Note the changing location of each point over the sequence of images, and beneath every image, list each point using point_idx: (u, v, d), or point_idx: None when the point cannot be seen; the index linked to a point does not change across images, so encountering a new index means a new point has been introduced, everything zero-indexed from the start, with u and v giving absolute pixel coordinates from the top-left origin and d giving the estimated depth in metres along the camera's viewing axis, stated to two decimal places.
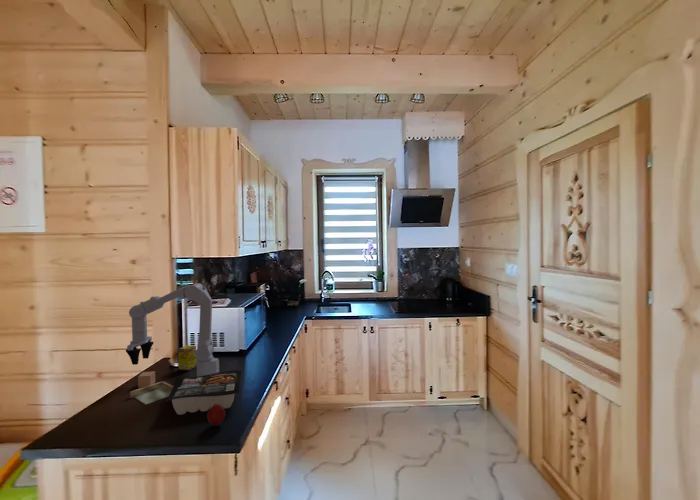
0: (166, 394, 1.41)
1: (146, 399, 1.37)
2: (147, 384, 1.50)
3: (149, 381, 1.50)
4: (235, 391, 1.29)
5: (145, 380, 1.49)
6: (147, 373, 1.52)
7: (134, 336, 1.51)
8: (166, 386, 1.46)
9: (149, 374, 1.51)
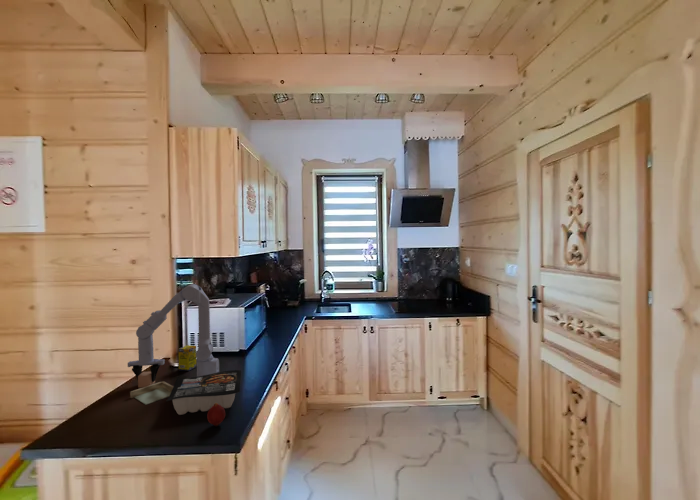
0: (166, 394, 1.41)
1: (146, 399, 1.37)
2: (147, 384, 1.50)
3: (149, 381, 1.50)
4: (236, 391, 1.29)
5: (145, 380, 1.49)
6: (147, 373, 1.52)
7: None
8: (166, 386, 1.46)
9: (149, 374, 1.51)
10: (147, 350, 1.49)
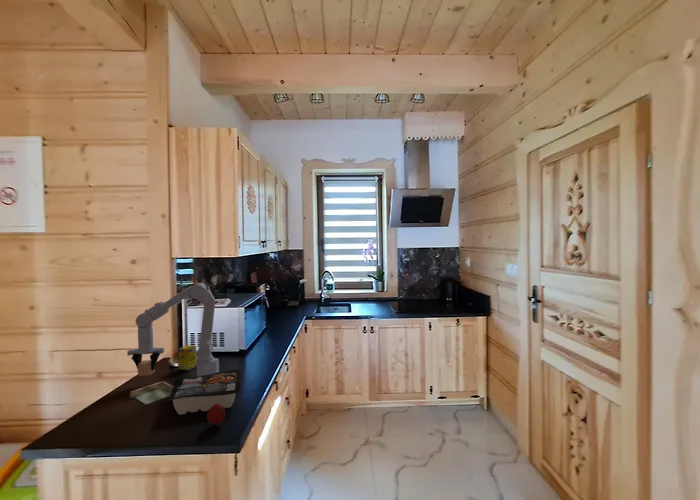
0: (166, 394, 1.41)
1: (146, 399, 1.37)
2: (147, 372, 1.50)
3: (149, 369, 1.50)
4: (236, 390, 1.29)
5: (145, 368, 1.49)
6: (147, 362, 1.52)
7: None
8: (166, 386, 1.46)
9: (149, 362, 1.51)
10: (147, 338, 1.49)
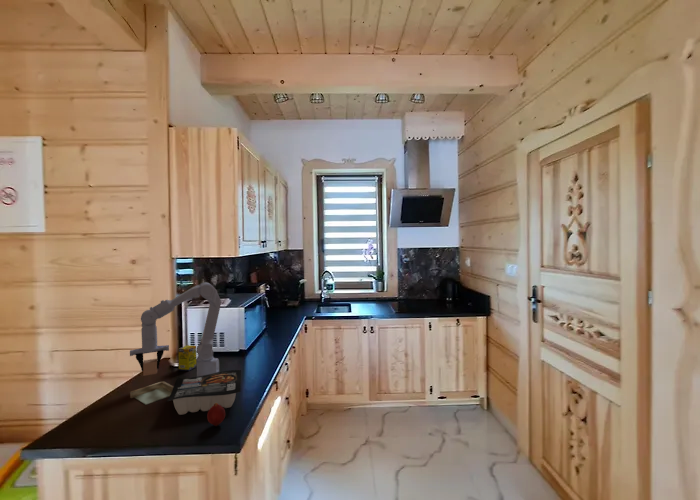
0: (166, 394, 1.41)
1: (146, 399, 1.37)
2: (153, 371, 1.46)
3: (155, 368, 1.47)
4: (236, 390, 1.29)
5: (151, 367, 1.46)
6: (151, 361, 1.48)
7: None
8: (166, 386, 1.46)
9: (154, 361, 1.48)
10: (152, 336, 1.46)
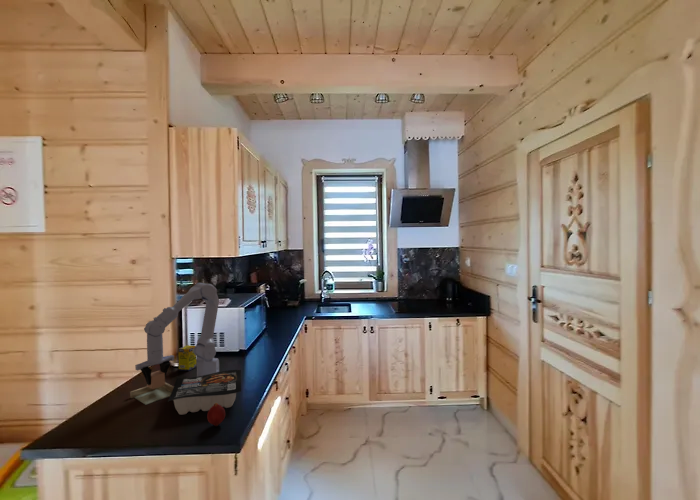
0: (166, 394, 1.41)
1: (146, 399, 1.37)
2: (161, 383, 1.42)
3: (163, 379, 1.43)
4: (237, 390, 1.30)
5: (159, 379, 1.41)
6: (156, 373, 1.43)
7: (147, 355, 1.40)
8: (166, 386, 1.46)
9: (160, 373, 1.43)
10: (160, 347, 1.41)
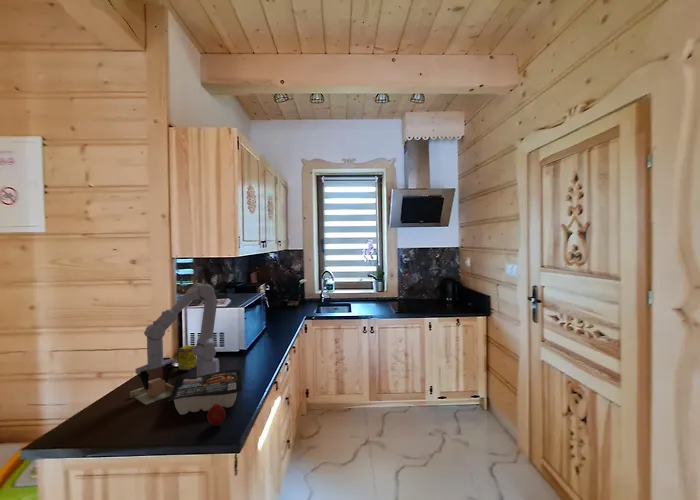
0: (166, 394, 1.41)
1: (146, 399, 1.37)
2: (162, 390, 1.42)
3: (164, 386, 1.43)
4: (237, 390, 1.30)
5: (160, 386, 1.42)
6: (157, 380, 1.43)
7: (147, 358, 1.40)
8: (166, 386, 1.46)
9: (161, 380, 1.43)
10: (160, 351, 1.41)
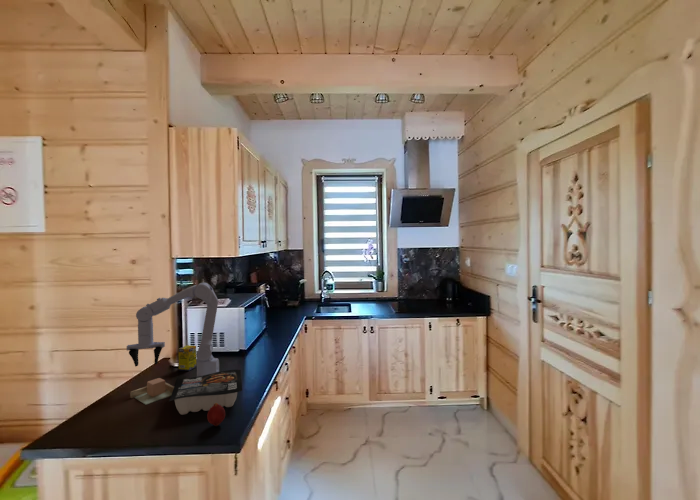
0: (166, 394, 1.41)
1: (146, 399, 1.37)
2: (162, 390, 1.42)
3: (164, 386, 1.43)
4: (238, 389, 1.30)
5: (160, 386, 1.42)
6: (157, 380, 1.43)
7: None
8: (166, 386, 1.46)
9: (161, 380, 1.43)
10: (147, 333, 1.48)
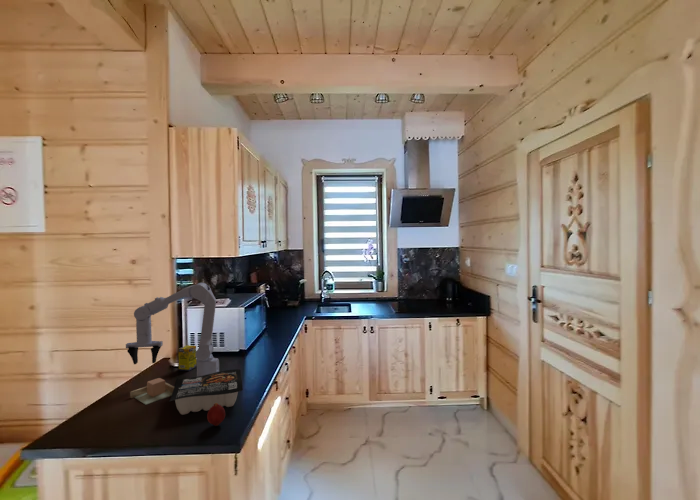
0: (166, 394, 1.41)
1: (146, 399, 1.37)
2: (162, 390, 1.42)
3: (164, 386, 1.43)
4: (238, 389, 1.30)
5: (160, 386, 1.42)
6: (157, 380, 1.43)
7: None
8: (166, 386, 1.46)
9: (161, 380, 1.43)
10: (145, 331, 1.50)
